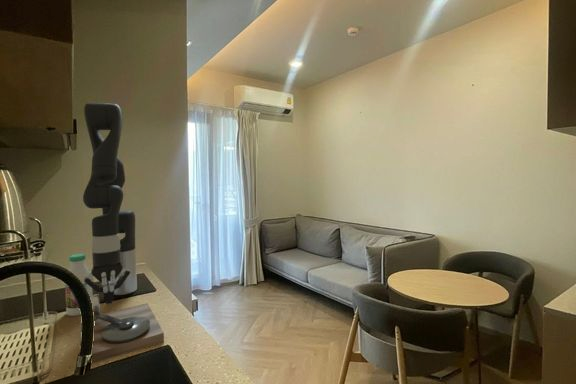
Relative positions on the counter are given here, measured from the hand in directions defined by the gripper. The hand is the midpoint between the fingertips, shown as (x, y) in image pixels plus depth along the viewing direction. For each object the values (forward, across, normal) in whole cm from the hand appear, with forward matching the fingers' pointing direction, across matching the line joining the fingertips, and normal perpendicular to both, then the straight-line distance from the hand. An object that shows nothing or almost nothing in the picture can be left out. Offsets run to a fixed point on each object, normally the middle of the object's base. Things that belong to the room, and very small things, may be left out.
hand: (108, 302), depth 94 cm
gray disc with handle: (+4, 0, +9) cm, 10 cm away
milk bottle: (+7, +7, -17) cm, 20 cm away
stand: (+7, -2, +8) cm, 11 cm away
